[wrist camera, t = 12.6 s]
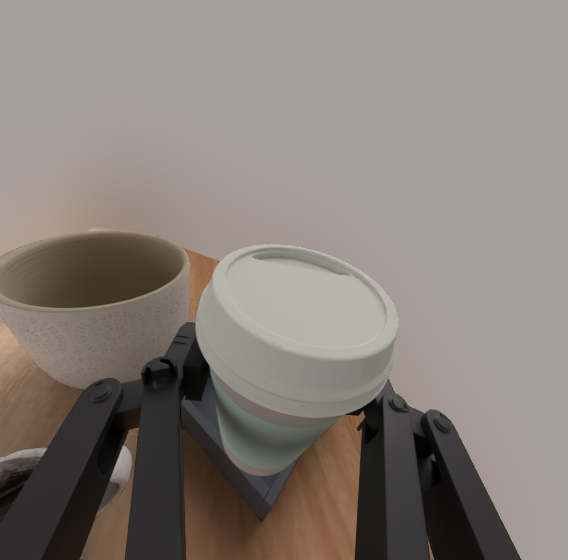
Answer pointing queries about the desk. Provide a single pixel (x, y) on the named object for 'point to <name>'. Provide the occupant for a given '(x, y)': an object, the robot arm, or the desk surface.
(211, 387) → the bin
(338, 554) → the desk surface
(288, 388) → the coffee cup
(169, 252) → the planter
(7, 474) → the mug
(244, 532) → the desk surface
